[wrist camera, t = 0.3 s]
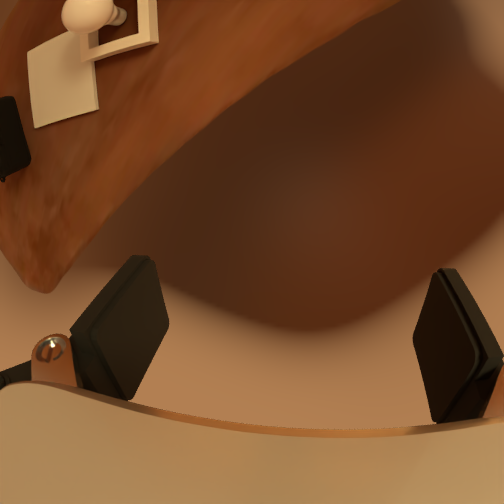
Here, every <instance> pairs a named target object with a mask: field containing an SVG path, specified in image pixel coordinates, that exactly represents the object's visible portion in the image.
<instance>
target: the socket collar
mask: <svg viewBox="0 0 504 504" xmlns="http://www.w3.org/2000/svg"><path fill="white" fill-rule="evenodd" d="M137 3H138V29H139V33H138V34H135V35H131V36H128V37H124V38H121V39H118V40H115V41H112V42H109V43H106V44H103V45H100V46H99V41H98V30H96V31H94V32H92V33H88V34H80V54H81V62H91V61H97V60H100V59H103V58H106V57H109V56H112V55H115V54H119V53H122V52H126V51H129V50H133V49H136V48H140V47H144V46H148V45H152V44H156V43H159V39H158V22H157V0H137Z"/></svg>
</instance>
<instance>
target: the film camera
mask: <svg viewBox="0 0 504 504" xmlns="http://www.w3.org/2000/svg"><path fill="white" fill-rule="evenodd" d="M30 161H31V156H30V152H29V149H28V145H27V142H26V139H25V135H24V132H23V128H22V124H21V121H20V117H19V113H18V109H17V106H16V102H15V99H14V97H12V96H5V97H2V98H0V180H1V178H2V180H1V182H5V177H7V176H8V175H10V174H12V173H14V172H16V171H18V170H20V169H22V168H25V167H26V166H28V165H29V164H30Z"/></svg>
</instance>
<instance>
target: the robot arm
mask: <svg viewBox="0 0 504 504" xmlns="http://www.w3.org/2000/svg"><path fill="white" fill-rule="evenodd" d="M168 327H169V318H168V314H167V310H166V307H165V303H164V299H163V295H162V291H161V287H160V283H159V278H158V275H157V270H156V265H155V262H154V261H153V260H151V259H150V257H148V256H142V255H132V256H131V257H130V258H129V259H128V260H127V262H126V263H125V264H124V265H123V266H122V267H121V268H120V269H119V271H118V272H117V273H116V274H115V275H114V276H113V277H112V279H111V280H110V281H109V282H108V283H107V284H106V286H105V287H104V288H103V289H102V290H101V291H100V293H99V294H98V295H97V296H96V297H95V299H94V300H93V301H92V302H91V304H90V305H89V306H88V307H87V308H86V310H85V311H84V312H83V313H82V314H81V316H80V317H79V318H78V319H77V321H76V322H75V323H74V325H73V326H72V327H71V328H70V332H71V334H72V335H71V337H70V338H68V337H67V336H65V335H63V334H52V335H49V336H46V337H44V338H43V339H41V340H40V341H39V342H38V343H37V344H36V345H35V347H34V349H33V351H32V355H31V356H32V357H31V360H30V361H27V362H25V363H22V364H19V365H17V366H14V367H12V368H9V369H6V370H4V371H1V372H0V504H504V362H503V360H502V358H503V357H504V355H503V353H502V351H501V349H500V346H499V345H498V342H497V341H496V338H495V336H494V334H493V333H492V331H491V329H490V327H489V325H488V323H487V321H486V319H485V317H484V316H483V314H482V312H481V310H480V309H479V307H478V305H477V303H476V301H475V300H474V298H473V296H472V295H471V293H470V291H469V290H468V288H467V286H466V285H465V283H464V281H463V280H462V279H461V277H460V275H459V273H458V272H457V270H456V269H449V268H440V269H438V271H437V272H435V273H433V275H432V278H431V282H430V285H429V289H428V292H427V295H426V298H425V301H424V304H423V307H422V310H421V313H420V316H419V319H418V322H417V325H416V327H415V330H414V333H413V345H414V348H415V351H416V355H417V359H418V362H419V366H420V370H421V374H422V378H423V382H424V386H425V390H426V395H427V399H428V404H429V408H430V413H431V417H432V420H433V422H436V423H437V424H432V425H423V426H412V427H399V428H383V429H357V430H356V429H354V430H353V429H349V430H347V429H346V430H342V429H340V430H339V429H302V428H285V427H272V426H262V425H252V424H244V423H236V422H228V421H221V420H215V419H208V418H202V417H196V416H191V415H186V414H180V413H176V412H170V411H166V410H161V409H157V408H153V407H148V406H144V405H140V404H136V403H132V402H129V401H128V400H131V399H132V398H133V397H134V395H135V393H136V391H137V389H138V387H139V385H140V383H141V381H142V379H143V377H144V375H145V373H146V371H147V369H148V367H149V365H150V363H151V361H152V359H153V357H154V355H155V353H156V351H157V349H158V347H159V346H160V344H161V342H162V339H163V338H164V336H165V334H166V332H167V330H168Z"/></svg>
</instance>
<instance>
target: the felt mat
mask: <svg viewBox="0 0 504 504" xmlns="http://www.w3.org/2000/svg"><path fill="white" fill-rule="evenodd" d="M27 58H28V75H29V88H30V98H31V106H32V114H33V121H34V128H38V127H41V126H44V125H47V124H50V123H53V122H56V121H59V120H62V119H66V118H69V117H73V116H76V115H80V114H83V113H87V112H91V111H94V110H98V109H99V105H98V97H97V87H96V77H95V65H94V61H91V62H81V54H80V34H75V33H72V32H70V31H67V32H65V33H63V34H61V35H59V36H57V37H55V38H53V39H51V40H49V41H47V42H45V43H43V44H41V45H39V46H38V47H36V48H34V49H32V50H30V51H29V52H27Z"/></svg>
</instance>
